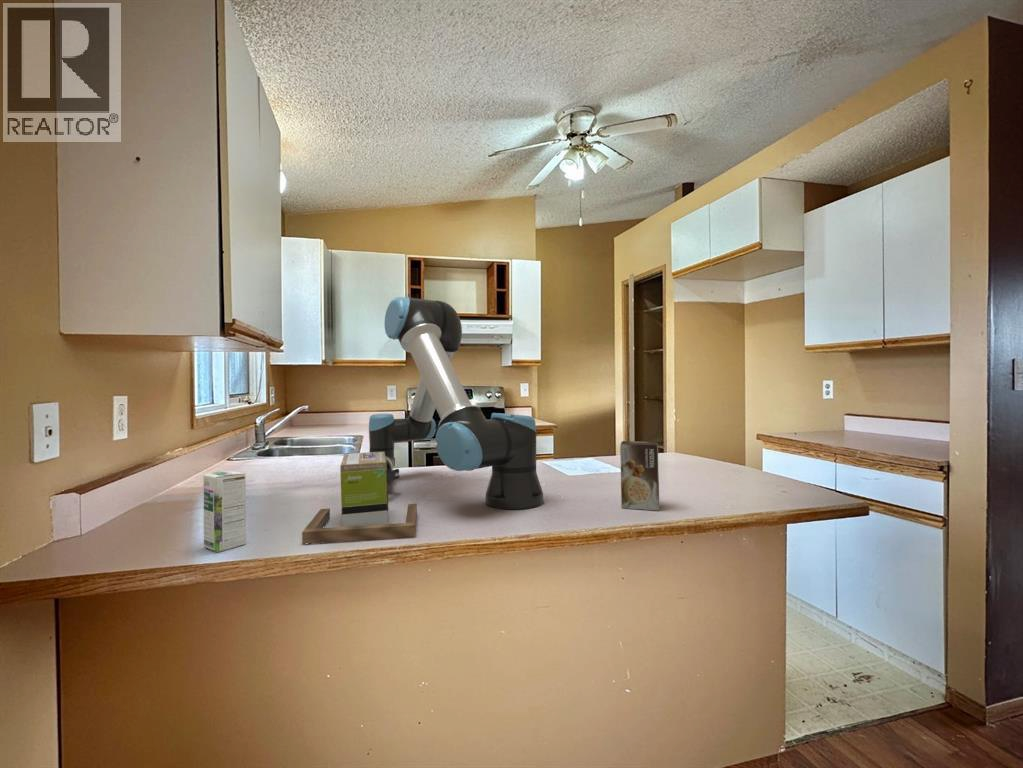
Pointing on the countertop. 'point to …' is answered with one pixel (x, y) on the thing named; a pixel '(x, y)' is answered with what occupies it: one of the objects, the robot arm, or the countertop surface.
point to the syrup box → (224, 510)
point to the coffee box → (639, 475)
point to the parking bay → (358, 529)
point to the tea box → (364, 489)
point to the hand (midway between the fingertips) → (369, 487)
